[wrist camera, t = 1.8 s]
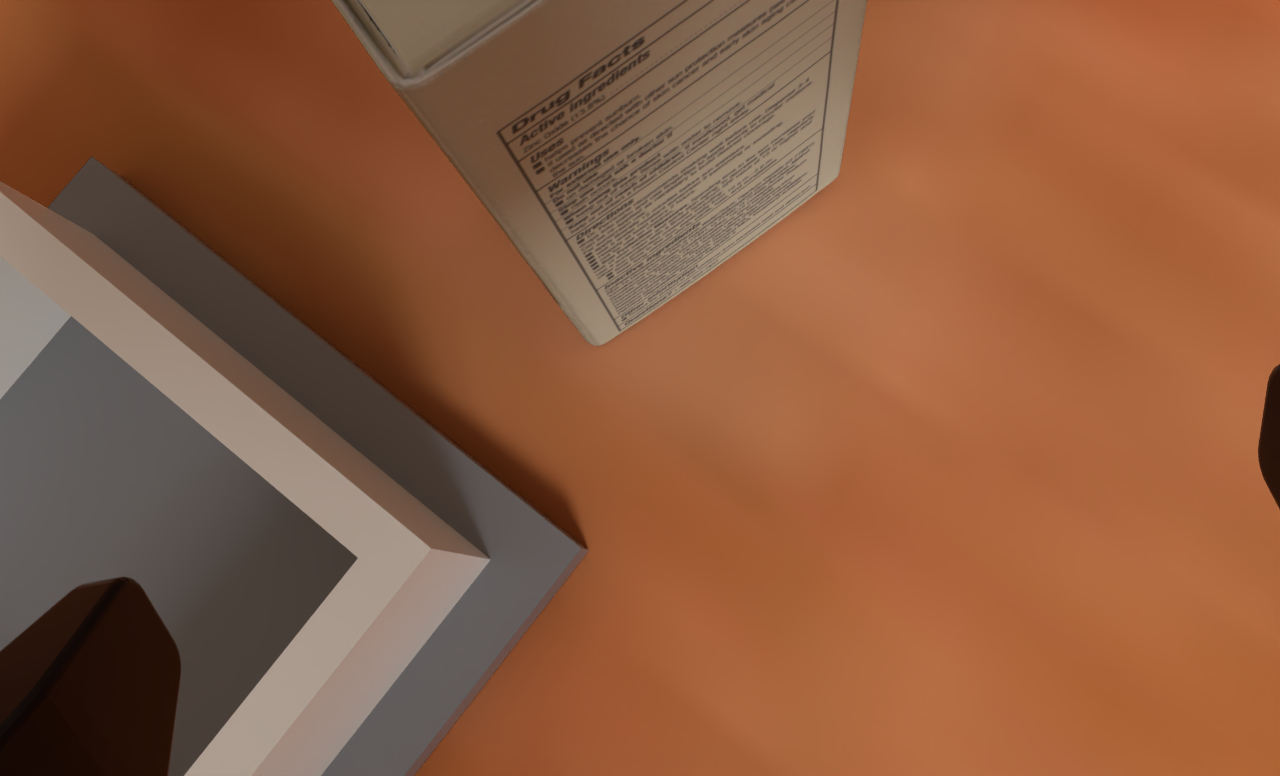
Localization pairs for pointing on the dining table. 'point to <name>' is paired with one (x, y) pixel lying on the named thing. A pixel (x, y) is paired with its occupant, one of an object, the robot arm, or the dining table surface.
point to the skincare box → (625, 127)
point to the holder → (246, 498)
